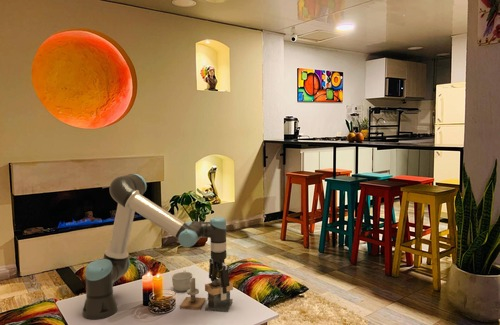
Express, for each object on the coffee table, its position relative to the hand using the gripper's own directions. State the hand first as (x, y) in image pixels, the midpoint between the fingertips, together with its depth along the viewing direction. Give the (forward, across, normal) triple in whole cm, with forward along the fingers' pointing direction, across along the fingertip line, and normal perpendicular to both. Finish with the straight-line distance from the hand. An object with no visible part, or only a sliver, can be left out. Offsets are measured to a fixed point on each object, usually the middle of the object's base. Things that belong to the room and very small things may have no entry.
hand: (219, 296), depth 186 cm
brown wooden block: (-3, 0, 0) cm, 3 cm away
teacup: (+5, +30, +4) cm, 31 cm away
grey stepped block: (+5, 0, 0) cm, 5 cm away
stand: (+5, +9, +9) cm, 14 cm away
